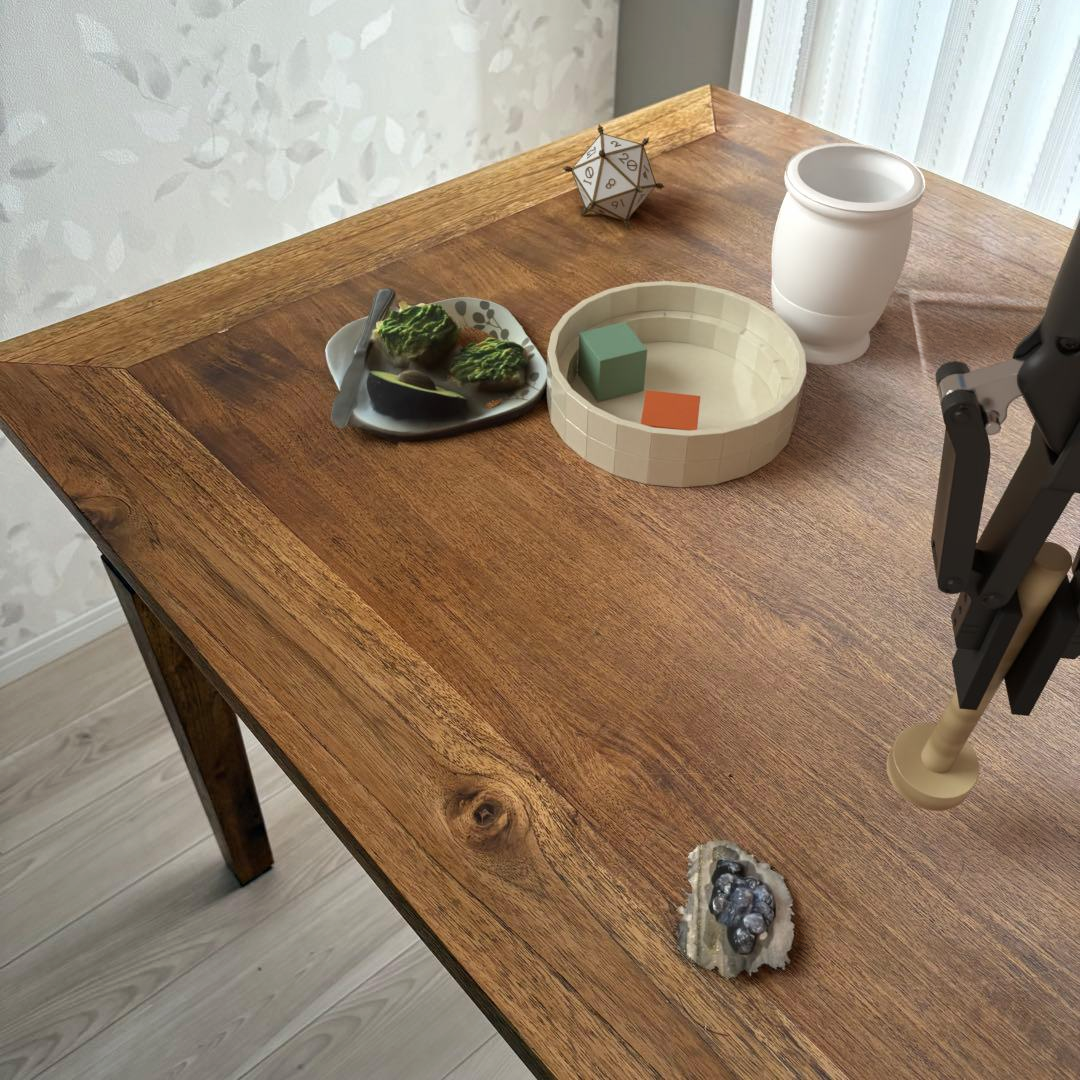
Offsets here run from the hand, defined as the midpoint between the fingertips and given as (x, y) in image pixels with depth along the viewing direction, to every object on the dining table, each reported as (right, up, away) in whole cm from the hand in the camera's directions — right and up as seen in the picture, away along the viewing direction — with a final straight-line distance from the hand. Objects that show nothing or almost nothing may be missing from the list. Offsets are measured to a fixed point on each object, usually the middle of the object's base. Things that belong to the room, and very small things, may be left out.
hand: (989, 687), depth 51 cm
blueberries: (-11, -13, +8) cm, 18 cm away
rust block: (-11, +13, +32) cm, 36 cm away
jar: (+3, +23, +43) cm, 49 cm away
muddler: (0, -6, +8) cm, 10 cm away
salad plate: (-29, +19, +39) cm, 52 cm away
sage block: (-15, +19, +38) cm, 45 cm away
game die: (-13, +38, +57) cm, 70 cm away
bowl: (-10, +17, +37) cm, 42 cm away
